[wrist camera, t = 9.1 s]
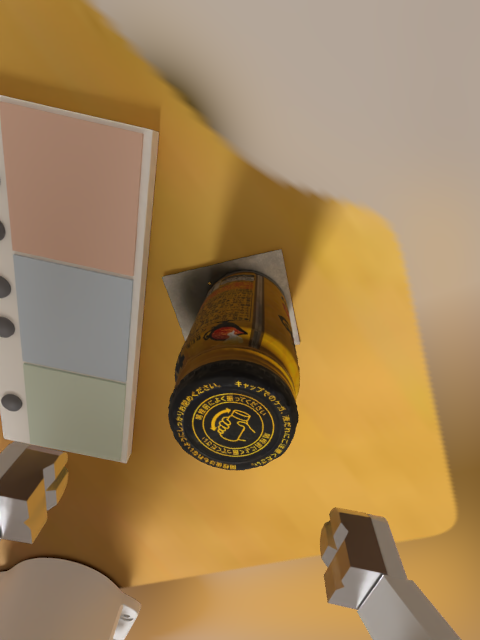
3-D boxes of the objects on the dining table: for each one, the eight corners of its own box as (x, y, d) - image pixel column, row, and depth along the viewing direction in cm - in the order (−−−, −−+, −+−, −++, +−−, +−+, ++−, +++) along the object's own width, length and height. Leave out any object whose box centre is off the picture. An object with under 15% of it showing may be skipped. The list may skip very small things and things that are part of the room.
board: (131, 452, 30) (125, 465, 29) (13, 428, 30) (1, 440, 29) (159, 132, 19) (151, 129, 18) (-27, 90, 19) (-49, 83, 18)
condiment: (299, 342, 24) (329, 479, 14) (193, 362, 26) (142, 501, 15) (281, 248, 22) (300, 325, 11) (162, 275, 23) (72, 368, 12)
